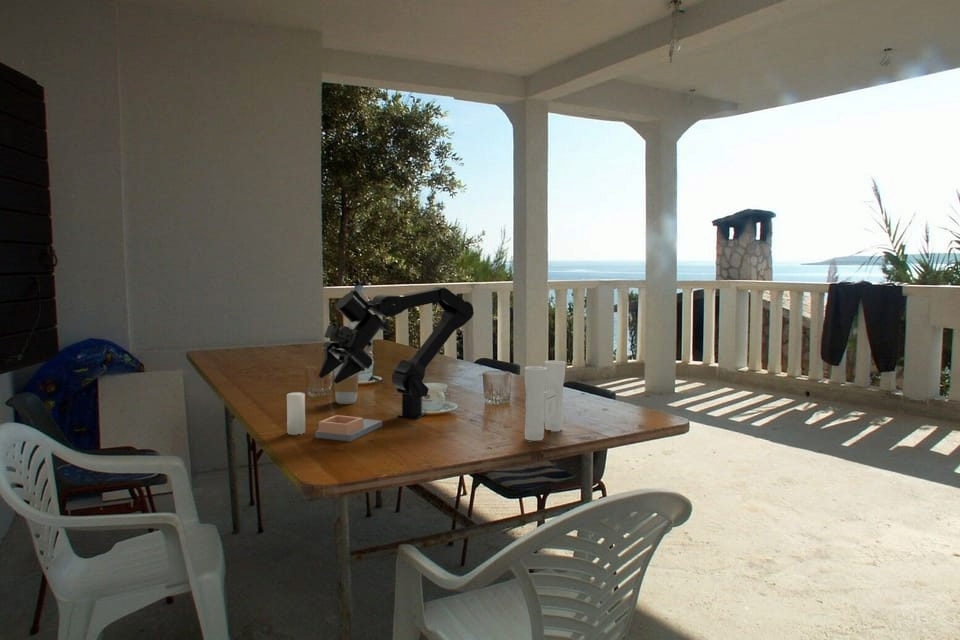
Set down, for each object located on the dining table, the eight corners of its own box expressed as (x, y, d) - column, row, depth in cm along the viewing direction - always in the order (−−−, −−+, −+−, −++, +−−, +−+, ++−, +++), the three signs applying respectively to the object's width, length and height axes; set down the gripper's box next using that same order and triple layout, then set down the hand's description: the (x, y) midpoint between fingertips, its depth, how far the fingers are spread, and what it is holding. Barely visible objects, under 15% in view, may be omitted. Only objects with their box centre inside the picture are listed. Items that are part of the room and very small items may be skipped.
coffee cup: (356, 405, 202) (356, 356, 201) (329, 404, 202) (329, 355, 201) (362, 399, 210) (362, 352, 209) (336, 398, 210) (335, 352, 209)
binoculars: (539, 443, 161) (540, 370, 160) (519, 440, 164) (520, 368, 163) (567, 428, 176) (568, 361, 175) (548, 425, 179) (549, 359, 177)
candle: (294, 429, 172) (293, 391, 171) (308, 431, 170) (308, 393, 169) (283, 433, 168) (283, 394, 167) (298, 435, 166) (298, 396, 165)
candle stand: (349, 422, 180) (349, 408, 179) (382, 426, 176) (382, 411, 176) (315, 437, 165) (315, 421, 164) (350, 441, 161) (350, 425, 161)
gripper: (327, 311, 180) (290, 356, 175) (359, 316, 166) (320, 365, 160) (355, 337, 186) (320, 381, 181) (388, 344, 171) (351, 392, 166)
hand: (327, 379), depth 172 cm, fingers open, 9 cm apart
